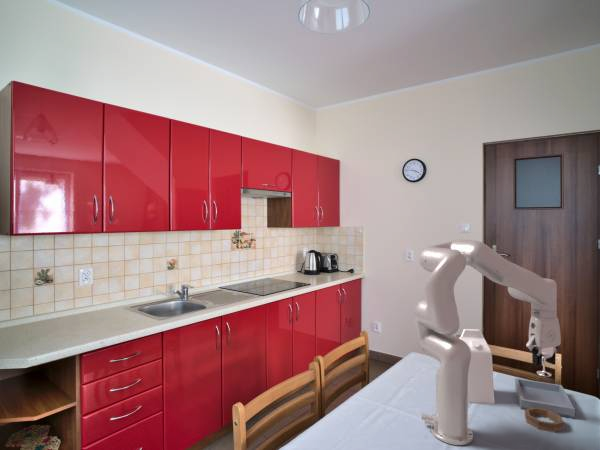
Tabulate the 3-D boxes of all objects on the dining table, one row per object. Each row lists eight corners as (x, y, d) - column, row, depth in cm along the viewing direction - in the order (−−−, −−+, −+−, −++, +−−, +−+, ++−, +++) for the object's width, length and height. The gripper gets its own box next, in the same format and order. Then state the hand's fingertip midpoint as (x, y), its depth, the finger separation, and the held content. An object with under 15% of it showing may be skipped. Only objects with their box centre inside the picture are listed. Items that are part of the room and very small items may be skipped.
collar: (527, 426, 121) (527, 419, 121) (523, 411, 131) (523, 405, 131) (565, 434, 117) (565, 427, 117) (558, 418, 126) (558, 411, 126)
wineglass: (554, 378, 125) (554, 344, 125) (534, 375, 128) (534, 341, 128) (553, 372, 130) (553, 339, 130) (534, 369, 133) (534, 336, 133)
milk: (482, 389, 148) (482, 325, 148) (494, 403, 137) (494, 334, 137) (451, 388, 150) (451, 325, 149) (461, 402, 138) (461, 334, 138)
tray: (520, 409, 133) (520, 399, 133) (514, 386, 151) (514, 377, 151) (574, 419, 126) (574, 409, 126) (561, 394, 144) (561, 385, 144)
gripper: (534, 318, 123) (535, 372, 123) (572, 314, 128) (572, 365, 128) (515, 313, 130) (515, 363, 130) (551, 309, 135) (551, 357, 135)
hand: (543, 363), depth 129 cm, fingers closed on wineglass, 5 cm apart
